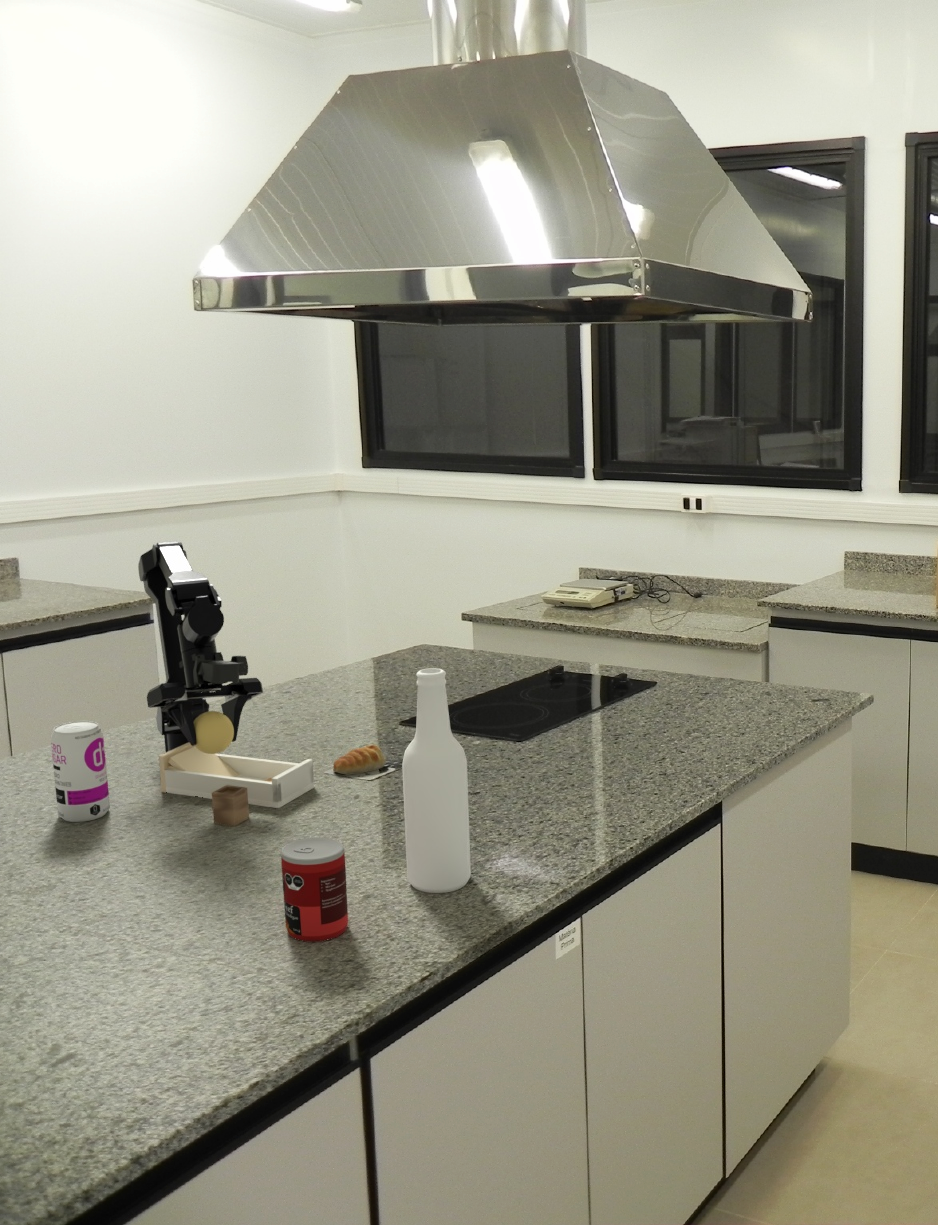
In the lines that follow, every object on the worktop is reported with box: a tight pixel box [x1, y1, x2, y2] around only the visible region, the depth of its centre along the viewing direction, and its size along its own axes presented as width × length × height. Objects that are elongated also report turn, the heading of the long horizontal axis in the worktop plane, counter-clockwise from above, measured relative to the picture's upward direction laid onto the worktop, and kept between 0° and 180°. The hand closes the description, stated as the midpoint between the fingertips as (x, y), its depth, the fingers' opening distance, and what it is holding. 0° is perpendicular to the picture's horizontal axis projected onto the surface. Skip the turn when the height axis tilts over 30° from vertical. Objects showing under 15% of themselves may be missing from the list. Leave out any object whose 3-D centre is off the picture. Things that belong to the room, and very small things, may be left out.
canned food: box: [280, 837, 349, 943], centre depth 154 cm, size 8×8×11 cm
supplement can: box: [50, 720, 111, 823], centre depth 199 cm, size 8×8×15 cm
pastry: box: [332, 744, 387, 776], centre depth 219 cm, size 9×7×4 cm
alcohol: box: [401, 667, 472, 894], centre depth 166 cm, size 9×9×30 cm
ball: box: [194, 710, 234, 754], centre depth 200 cm, size 7×7×7 cm
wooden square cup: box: [211, 785, 250, 827], centre depth 195 cm, size 4×4×5 cm
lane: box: [158, 742, 315, 809], centre depth 210 cm, size 24×11×6 cm, turn 65°
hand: (214, 743), depth 200 cm, fingers closed on ball, 7 cm apart
